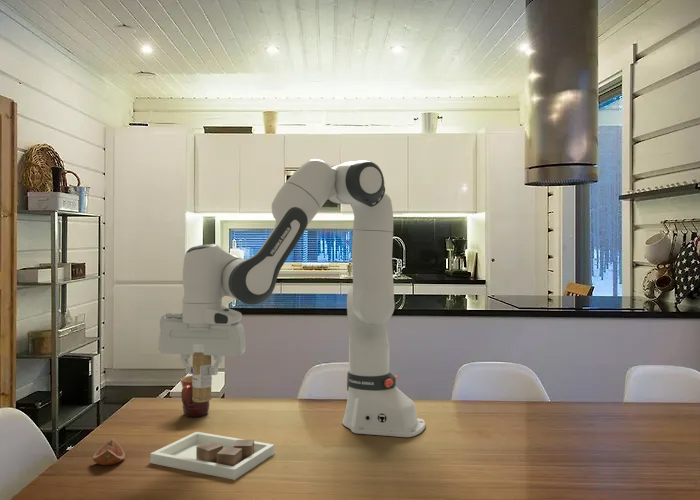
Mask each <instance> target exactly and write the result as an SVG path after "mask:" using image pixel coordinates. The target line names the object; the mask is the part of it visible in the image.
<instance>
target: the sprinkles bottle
mask: <svg viewBox="0 0 700 500" xmlns="http://www.w3.org/2000/svg"><path fill="white" fill-rule="evenodd" d="M193 352H195V353H194V355H192V365H193V366H192V374H191V376H192V386H193V397H192V400H193V401H195V402H206V401H209V402H210V401H211V400H212V398H213V397H212V396H213V395H212V384H213V382H212V380H213V377H212V376H213V375H209V372H210V371H209V367H211V366H213V365H212V356H211V355H204V353H203V352H204V345H203V344H194V345H193Z"/></svg>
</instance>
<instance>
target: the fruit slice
mask: <svg viewBox="0 0 700 500" xmlns="http://www.w3.org/2000/svg"><path fill="white" fill-rule="evenodd" d="M91 459H92V460H93V462H94V463H96V464H98V465H100V466H101V465H102V466H110V465H116V464H118V463H121V462H123V461H124V460H125V459H126V453H125V450H124V448H123V447H122V445H121V444H120V443H119V442H118V441H117V439H115V438H114V437H113V436H112V437H111V438H109V440H107V441H106V442H105V443H104V444H103V445H101V446H100V447H99V448H98V449H97V450H96V451H95V453H94V454H93V455H92V458H91Z"/></svg>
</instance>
